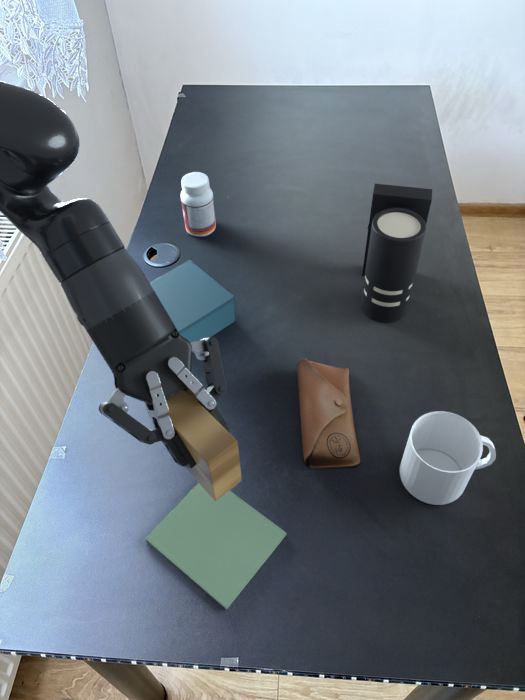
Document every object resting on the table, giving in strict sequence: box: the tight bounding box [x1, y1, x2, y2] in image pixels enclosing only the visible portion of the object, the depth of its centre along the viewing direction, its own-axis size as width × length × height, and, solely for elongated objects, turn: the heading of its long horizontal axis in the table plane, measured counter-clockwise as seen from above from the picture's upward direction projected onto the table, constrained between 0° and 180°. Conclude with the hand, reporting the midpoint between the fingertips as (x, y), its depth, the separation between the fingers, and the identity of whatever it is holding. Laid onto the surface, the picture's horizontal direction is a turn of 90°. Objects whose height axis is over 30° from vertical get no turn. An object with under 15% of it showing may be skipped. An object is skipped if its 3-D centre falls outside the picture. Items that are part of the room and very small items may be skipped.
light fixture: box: [360, 183, 433, 323], centre depth 99 cm, size 10×14×18 cm
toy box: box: [149, 259, 236, 342], centre depth 101 cm, size 12×12×6 cm
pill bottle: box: [180, 171, 217, 238], centre depth 115 cm, size 6×6×11 cm
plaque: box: [160, 390, 243, 501], centre depth 62 cm, size 10×4×8 cm, turn 41°
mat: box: [145, 482, 288, 610], centre depth 78 cm, size 12×14×1 cm
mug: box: [399, 410, 497, 506], centre depth 79 cm, size 12×9×9 cm
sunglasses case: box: [296, 357, 361, 470], centre depth 89 cm, size 18×7×7 cm
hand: (207, 452), depth 61 cm, fingers closed on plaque, 3 cm apart
